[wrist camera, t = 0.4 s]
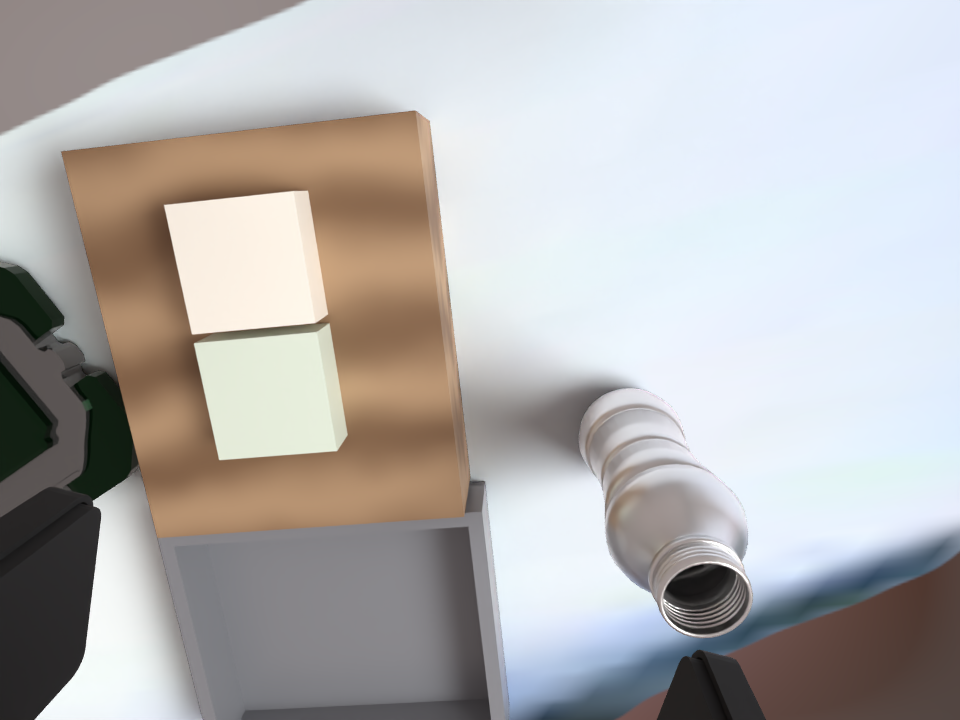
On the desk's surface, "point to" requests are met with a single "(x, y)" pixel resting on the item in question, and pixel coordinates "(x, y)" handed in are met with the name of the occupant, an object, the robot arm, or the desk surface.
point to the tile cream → (248, 262)
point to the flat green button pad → (53, 404)
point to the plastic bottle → (667, 513)
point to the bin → (344, 620)
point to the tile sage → (272, 391)
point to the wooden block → (351, 313)
